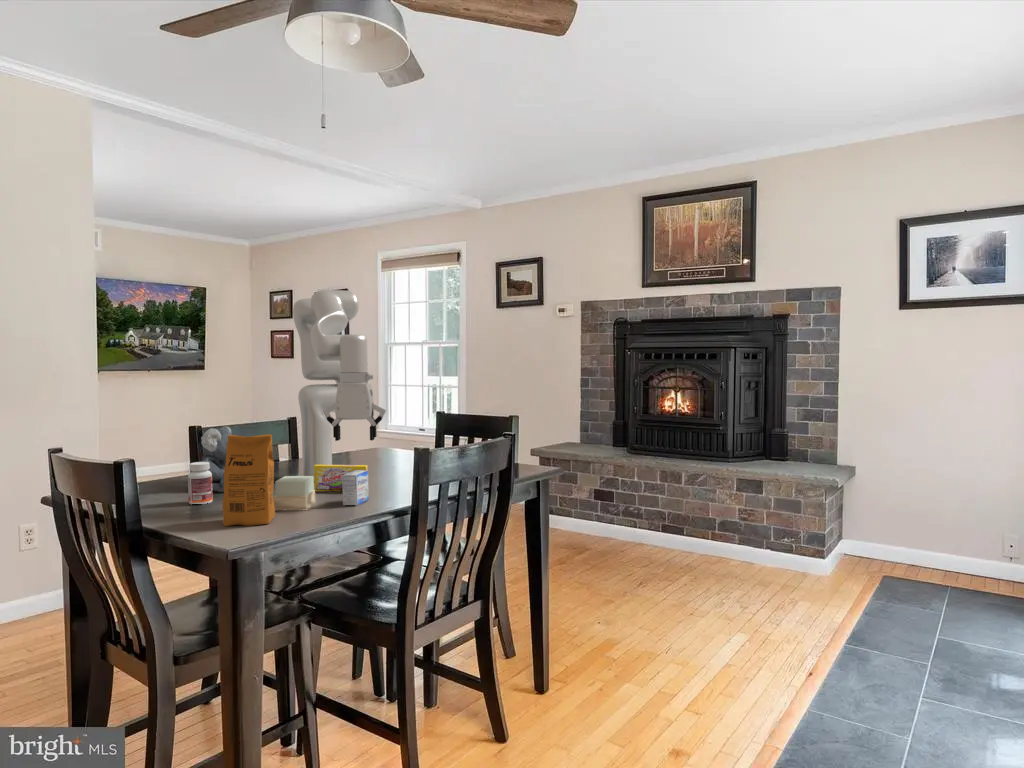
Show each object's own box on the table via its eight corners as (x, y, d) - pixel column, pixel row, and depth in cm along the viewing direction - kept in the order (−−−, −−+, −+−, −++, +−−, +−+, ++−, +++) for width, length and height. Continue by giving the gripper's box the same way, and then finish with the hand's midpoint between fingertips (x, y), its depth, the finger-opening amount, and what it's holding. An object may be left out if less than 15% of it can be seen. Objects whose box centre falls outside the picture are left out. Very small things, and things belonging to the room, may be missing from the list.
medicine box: (357, 506, 189) (356, 475, 189) (342, 505, 190) (341, 474, 189) (368, 500, 197) (368, 470, 196) (354, 499, 198) (354, 469, 197)
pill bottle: (217, 502, 195) (216, 462, 194) (197, 506, 190) (196, 465, 189) (204, 499, 198) (203, 460, 198) (184, 503, 193) (183, 463, 193)
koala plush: (236, 493, 207) (235, 429, 206) (177, 493, 207) (175, 429, 206) (258, 482, 225) (256, 423, 224) (203, 482, 225) (201, 423, 224)
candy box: (313, 492, 209) (313, 465, 208) (316, 491, 211) (315, 464, 210) (366, 492, 208) (366, 465, 207) (368, 491, 210) (368, 464, 209)
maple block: (283, 504, 194) (283, 490, 194) (315, 503, 194) (315, 489, 194) (272, 511, 185) (272, 496, 185) (305, 511, 185) (305, 496, 185)
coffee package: (230, 517, 177) (228, 432, 176) (280, 516, 178) (278, 431, 177) (216, 527, 167) (214, 437, 166) (269, 526, 168) (267, 436, 167)
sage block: (285, 490, 193) (284, 476, 193) (313, 490, 193) (313, 476, 193) (275, 496, 185) (275, 481, 185) (305, 496, 185) (305, 481, 185)
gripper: (387, 378, 195) (388, 438, 196) (326, 378, 195) (327, 438, 196) (382, 379, 188) (383, 441, 189) (319, 379, 188) (320, 442, 188)
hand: (355, 440), depth 192 cm, fingers open, 9 cm apart
